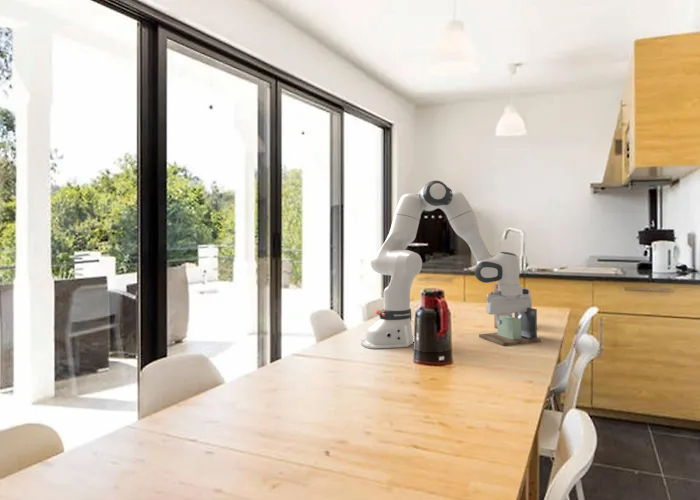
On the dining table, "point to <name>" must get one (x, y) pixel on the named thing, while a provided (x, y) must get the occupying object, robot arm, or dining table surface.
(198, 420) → the dining table surface
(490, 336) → the shelf board
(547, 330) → the dining table surface
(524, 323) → the bookend
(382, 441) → the dining table surface
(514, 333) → the pale green block
